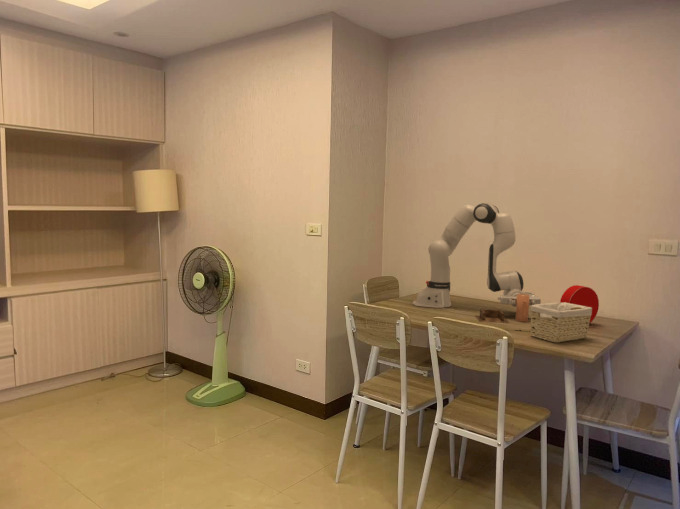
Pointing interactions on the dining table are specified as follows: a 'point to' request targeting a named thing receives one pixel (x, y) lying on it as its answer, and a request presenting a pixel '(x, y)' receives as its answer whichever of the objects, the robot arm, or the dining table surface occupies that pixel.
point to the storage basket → (560, 321)
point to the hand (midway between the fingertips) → (523, 303)
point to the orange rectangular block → (522, 307)
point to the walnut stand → (491, 316)
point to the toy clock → (582, 298)
